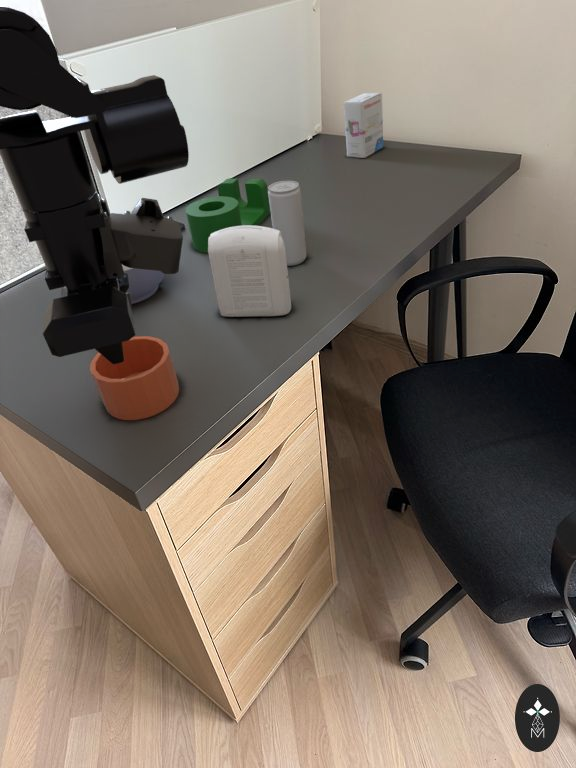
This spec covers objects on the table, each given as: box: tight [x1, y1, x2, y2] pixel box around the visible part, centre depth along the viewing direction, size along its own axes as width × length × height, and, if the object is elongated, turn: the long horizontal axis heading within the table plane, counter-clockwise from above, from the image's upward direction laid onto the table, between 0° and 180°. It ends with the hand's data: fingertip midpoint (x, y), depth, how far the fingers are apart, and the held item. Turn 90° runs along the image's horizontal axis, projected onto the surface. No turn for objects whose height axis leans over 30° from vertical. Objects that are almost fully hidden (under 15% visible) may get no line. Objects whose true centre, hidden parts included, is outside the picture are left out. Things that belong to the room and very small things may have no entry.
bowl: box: [120, 212, 166, 305], centre depth 86 cm, size 16×16×10 cm
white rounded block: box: [207, 225, 292, 318], centre depth 76 cm, size 10×4×12 cm, turn 83°
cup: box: [89, 335, 180, 421], centre depth 66 cm, size 9×9×6 cm
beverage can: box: [267, 180, 307, 267], centre depth 88 cm, size 5×5×12 cm
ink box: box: [343, 92, 384, 159], centre depth 128 cm, size 9×5×12 cm, turn 141°
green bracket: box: [185, 177, 271, 254], centre depth 102 cm, size 18×9×6 cm, turn 160°
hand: (118, 361), depth 54 cm, fingers closed
